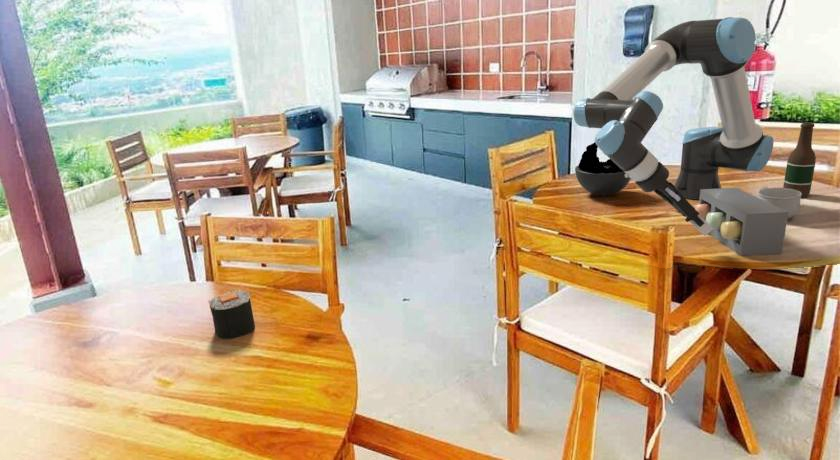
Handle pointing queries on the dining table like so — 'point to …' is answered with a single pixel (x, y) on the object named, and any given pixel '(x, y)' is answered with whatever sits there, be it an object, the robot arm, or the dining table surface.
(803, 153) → the beer bottle
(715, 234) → the console
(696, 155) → the robot arm
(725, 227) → the ochre button
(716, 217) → the sage button
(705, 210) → the terracotta button
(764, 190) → the teacup
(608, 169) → the bowl of black rocks
